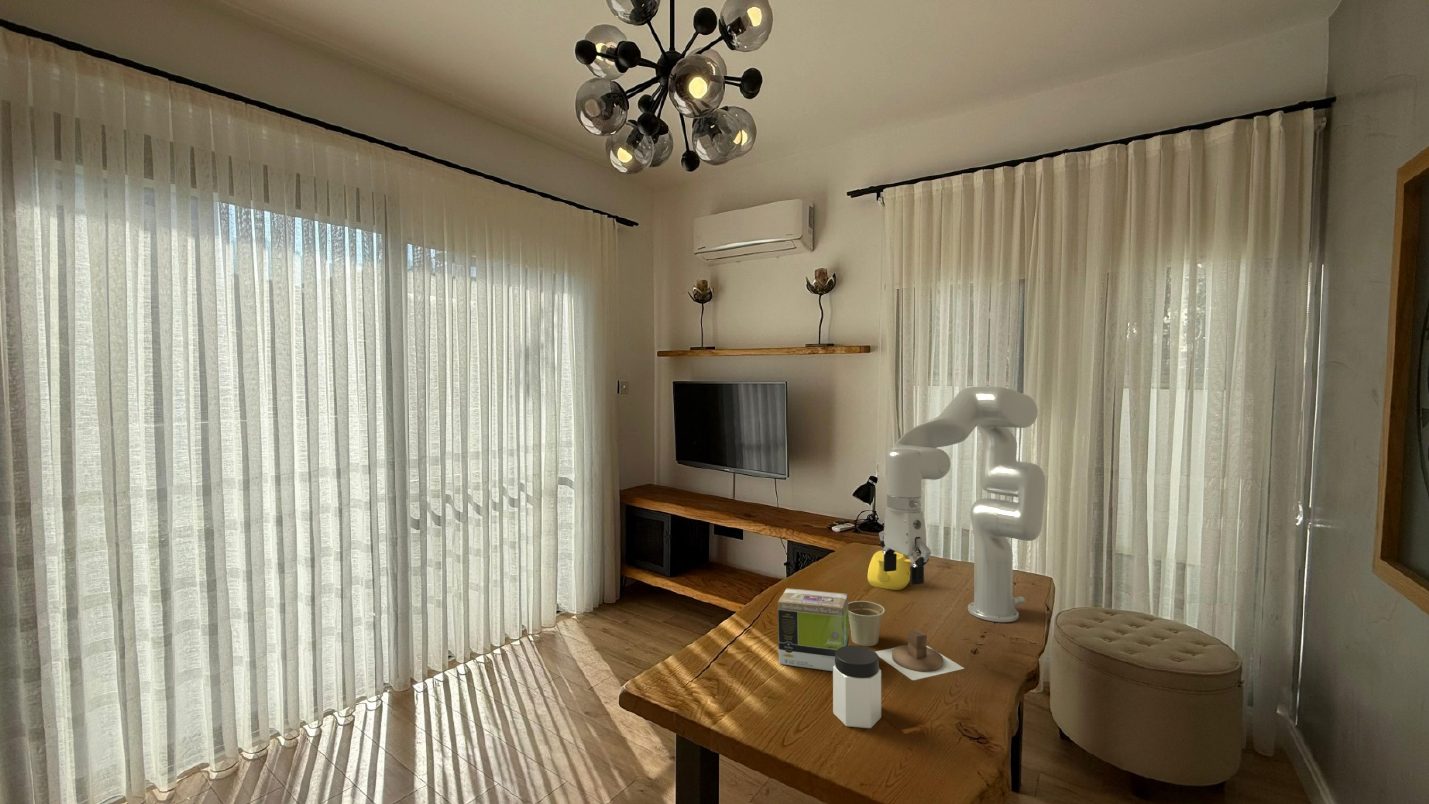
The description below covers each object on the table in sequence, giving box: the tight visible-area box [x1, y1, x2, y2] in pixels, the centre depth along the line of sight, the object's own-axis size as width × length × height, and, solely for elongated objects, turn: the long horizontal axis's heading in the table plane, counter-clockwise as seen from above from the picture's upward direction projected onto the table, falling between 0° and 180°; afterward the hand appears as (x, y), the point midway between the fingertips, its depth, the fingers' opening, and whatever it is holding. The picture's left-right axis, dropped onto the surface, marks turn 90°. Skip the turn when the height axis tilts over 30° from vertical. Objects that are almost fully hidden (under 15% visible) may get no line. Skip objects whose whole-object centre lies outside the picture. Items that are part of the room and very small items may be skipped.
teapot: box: [867, 550, 913, 591], centre depth 184 cm, size 22×16×11 cm
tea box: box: [777, 587, 850, 672], centre depth 134 cm, size 15×10×15 cm, turn 71°
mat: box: [875, 645, 965, 681], centre depth 132 cm, size 14×14×1 cm
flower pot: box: [848, 600, 886, 647], centre depth 142 cm, size 9×9×9 cm
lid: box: [892, 629, 943, 672], centre depth 132 cm, size 11×11×6 cm
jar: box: [832, 644, 882, 729], centre depth 111 cm, size 9×8×12 cm
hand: (903, 577), depth 133 cm, fingers open, 9 cm apart
